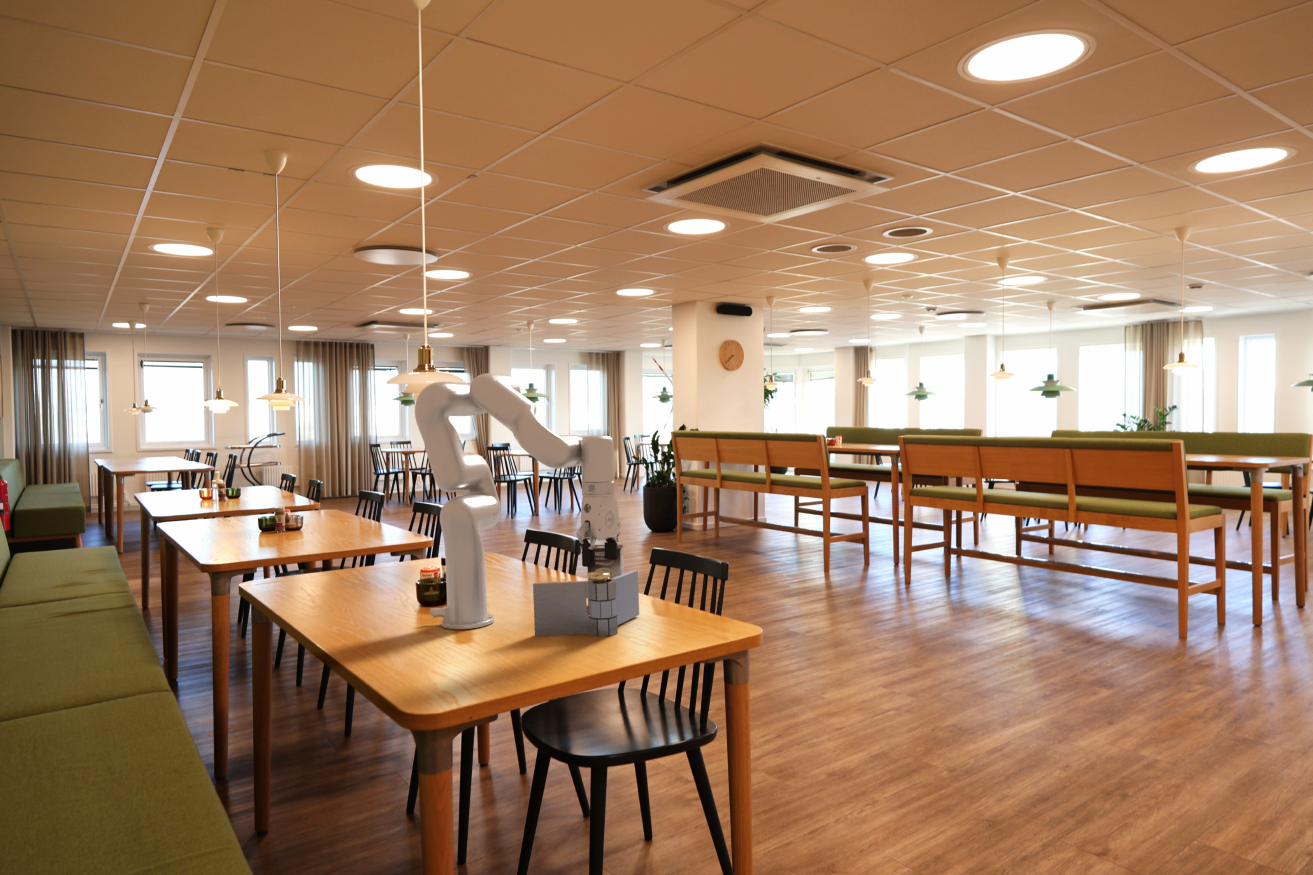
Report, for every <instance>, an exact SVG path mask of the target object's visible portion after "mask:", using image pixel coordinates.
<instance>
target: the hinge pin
mask: <svg viewBox="0 0 1313 875" xmlns="http://www.w3.org/2000/svg"><path fill="white" fill-rule="evenodd" d="M608 579H610V573H609V572H605V571H598V572H591V573H588V572H587V581H588V580H591V581H593V582H595V583H606V580H608ZM597 601H604V600H597ZM598 619H603V618H598Z"/></svg>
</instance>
